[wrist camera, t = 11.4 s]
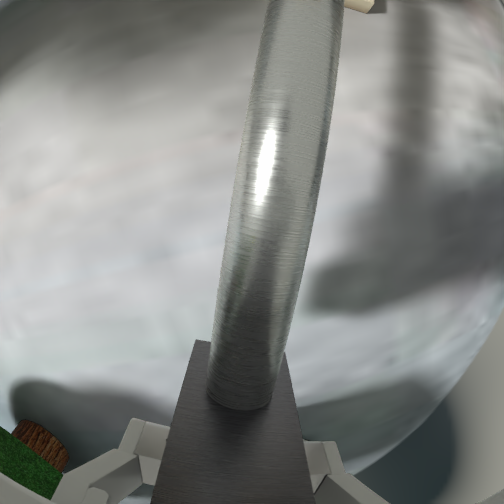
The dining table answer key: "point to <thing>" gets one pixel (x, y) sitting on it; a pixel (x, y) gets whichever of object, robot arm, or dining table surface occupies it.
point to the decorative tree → (32, 458)
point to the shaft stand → (359, 5)
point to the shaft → (260, 280)
